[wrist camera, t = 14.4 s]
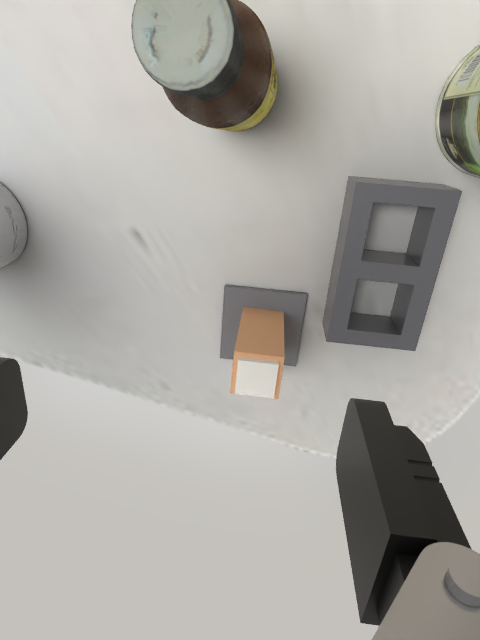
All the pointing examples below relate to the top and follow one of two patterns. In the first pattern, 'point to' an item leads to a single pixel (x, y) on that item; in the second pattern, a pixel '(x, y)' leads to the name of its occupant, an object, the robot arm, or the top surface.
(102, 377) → the top surface
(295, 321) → the mat
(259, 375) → the plug
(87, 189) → the top surface
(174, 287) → the top surface
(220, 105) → the sauce bottle
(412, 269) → the grey block holder
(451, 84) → the coffee can
